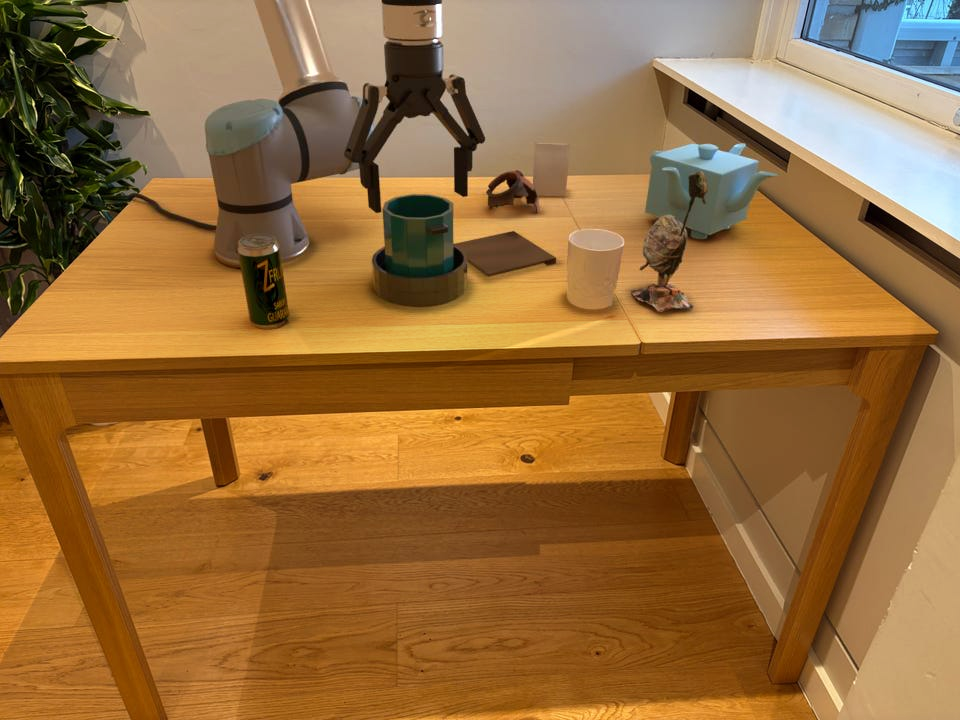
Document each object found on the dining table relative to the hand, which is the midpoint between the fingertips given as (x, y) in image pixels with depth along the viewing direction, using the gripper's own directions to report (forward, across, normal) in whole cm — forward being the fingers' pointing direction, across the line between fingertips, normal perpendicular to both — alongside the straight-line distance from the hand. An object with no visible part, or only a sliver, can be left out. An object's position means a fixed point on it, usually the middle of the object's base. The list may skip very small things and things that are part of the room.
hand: (419, 201), depth 103 cm
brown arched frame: (+14, +31, +22) cm, 41 cm away
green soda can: (+14, -23, +1) cm, 27 cm away
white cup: (+14, +20, -16) cm, 29 cm away
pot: (+13, 0, 0) cm, 13 cm away
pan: (+14, 0, 0) cm, 14 cm away
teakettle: (+14, +56, -2) cm, 58 cm away
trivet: (+14, +17, +4) cm, 22 cm away
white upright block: (+14, +42, +26) cm, 51 cm away
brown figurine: (+14, +30, -20) cm, 39 cm away
